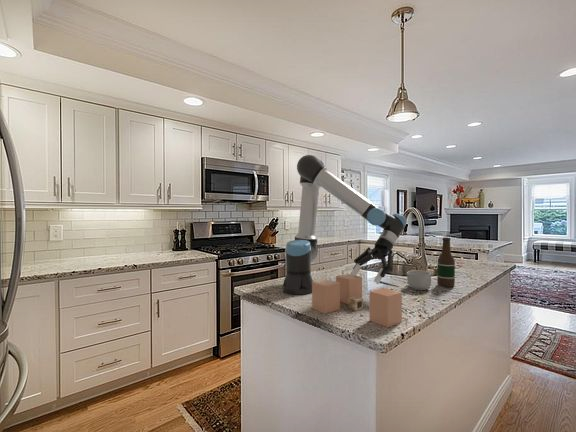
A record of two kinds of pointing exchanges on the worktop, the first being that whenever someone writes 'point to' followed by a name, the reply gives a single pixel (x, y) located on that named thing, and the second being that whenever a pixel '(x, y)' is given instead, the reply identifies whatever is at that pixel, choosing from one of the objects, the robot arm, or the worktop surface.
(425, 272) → the teacup
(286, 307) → the worktop surface
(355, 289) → the smooth terracotta cube
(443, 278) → the beer bottle
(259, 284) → the worktop surface
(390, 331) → the worktop surface
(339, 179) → the robot arm
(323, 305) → the peach colored cube
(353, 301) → the beige cube
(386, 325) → the tan peach cube
